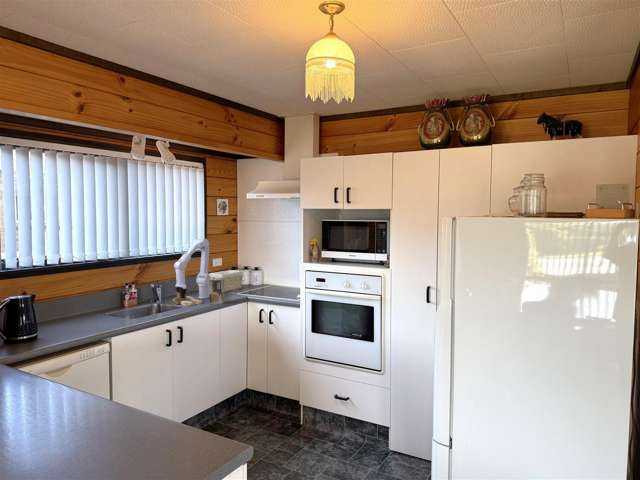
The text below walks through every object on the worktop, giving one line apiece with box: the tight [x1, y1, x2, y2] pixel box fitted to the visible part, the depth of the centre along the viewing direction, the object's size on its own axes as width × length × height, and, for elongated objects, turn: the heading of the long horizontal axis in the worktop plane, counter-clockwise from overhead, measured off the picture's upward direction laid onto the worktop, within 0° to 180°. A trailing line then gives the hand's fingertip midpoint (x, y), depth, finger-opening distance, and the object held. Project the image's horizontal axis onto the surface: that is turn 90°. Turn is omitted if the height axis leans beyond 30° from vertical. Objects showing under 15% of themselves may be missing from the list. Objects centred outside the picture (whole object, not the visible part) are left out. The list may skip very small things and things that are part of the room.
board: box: [172, 295, 204, 307], centre depth 317 cm, size 12×24×2 cm, turn 38°
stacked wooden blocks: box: [174, 292, 192, 305], centre depth 315 cm, size 10×5×7 cm, turn 128°
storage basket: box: [208, 269, 244, 293], centre depth 362 cm, size 24×16×15 cm
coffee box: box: [208, 280, 226, 305], centre depth 311 cm, size 9×6×16 cm
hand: (181, 297), depth 315 cm, fingers closed on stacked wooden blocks, 4 cm apart
